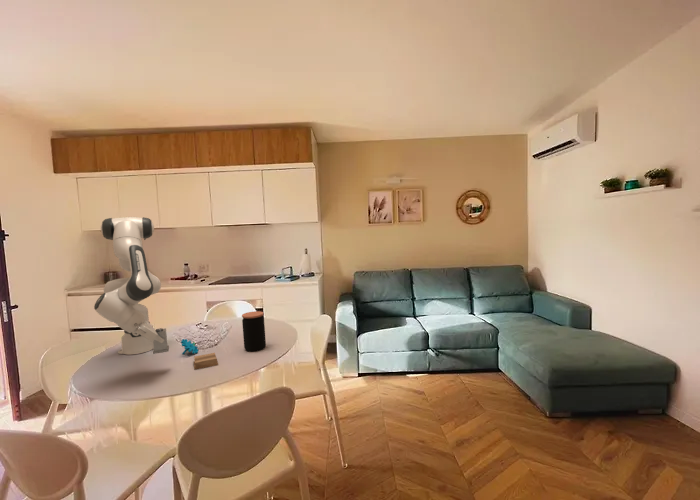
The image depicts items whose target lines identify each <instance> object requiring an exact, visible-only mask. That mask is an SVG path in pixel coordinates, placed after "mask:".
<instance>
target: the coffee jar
mask: <svg viewBox="0 0 700 500" xmlns="http://www.w3.org/2000/svg"><path fill="white" fill-rule="evenodd" d="M264 314H265V313H264V311H260V310H259V311H257V310H255V311H248V312H245V313H243V314H242V315H241V317H242V320H241V321H242V322H241V324H242V335H243V337H242V338H243V346H244V347H243V348H244V350H245V351H246V352H249V353H254V352H255V353H256V352H260V351H263V350H264V349H265V348H266V345H267V342H266V328H265V327H266V326H265V316H264Z"/></svg>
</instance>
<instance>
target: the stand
mask: <svg viewBox="0 0 700 500" xmlns="http://www.w3.org/2000/svg"><path fill="white" fill-rule="evenodd" d="M193 359H194V361H193V370H194V371H196V370H201V369H206V368H211V367H216V366H219V362H218V358H217V355H216V353H215V352H210V353H206V354H201V355H195V356H194V357H193Z"/></svg>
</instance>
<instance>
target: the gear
mask: <svg viewBox="0 0 700 500" xmlns="http://www.w3.org/2000/svg"><path fill="white" fill-rule="evenodd" d="M180 343H181V346H182V347H184V351H183V352H181V354H182V355H185V354H186V353H187V352H189V353H191V354H193V355H194V354H198V352H199V349H198V348H199V347H198V346H197V345H196V342H192V341H191V340H188V339H187V338H185V339H184V338H183V339H181V341H180Z"/></svg>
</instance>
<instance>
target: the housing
mask: <svg viewBox="0 0 700 500" xmlns="http://www.w3.org/2000/svg"><path fill="white" fill-rule="evenodd" d="M155 331H156V332H157V334H158V336H160V337H162V338H163V339H164V342H163V343H160V342H159V341H156V340H154V341H153V344H154V349H152V355H156V354H161V353H163V354H164V353H167V352H169V351H170V345H169V344H168V337H167V335H168V334H167V328H162V327H161V328H160V327H159V328H157V329H155Z"/></svg>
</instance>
